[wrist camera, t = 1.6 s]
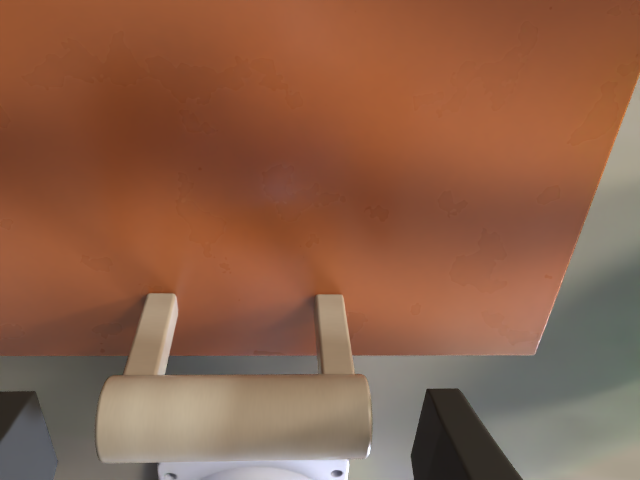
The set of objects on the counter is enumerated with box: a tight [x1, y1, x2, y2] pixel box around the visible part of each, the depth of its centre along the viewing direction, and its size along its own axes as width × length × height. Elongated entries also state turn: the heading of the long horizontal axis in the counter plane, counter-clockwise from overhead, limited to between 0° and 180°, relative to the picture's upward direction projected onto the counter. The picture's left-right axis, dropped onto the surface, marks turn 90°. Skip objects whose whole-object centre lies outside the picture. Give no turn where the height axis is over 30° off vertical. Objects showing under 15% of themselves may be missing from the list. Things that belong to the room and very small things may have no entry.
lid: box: [0, 0, 640, 463], centre depth 10 cm, size 10×16×5 cm
